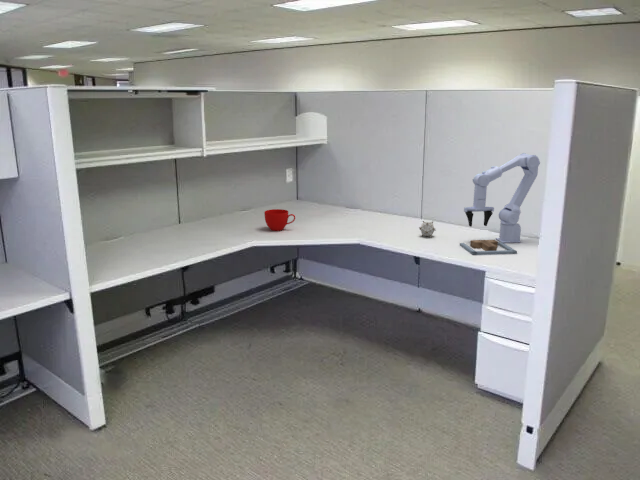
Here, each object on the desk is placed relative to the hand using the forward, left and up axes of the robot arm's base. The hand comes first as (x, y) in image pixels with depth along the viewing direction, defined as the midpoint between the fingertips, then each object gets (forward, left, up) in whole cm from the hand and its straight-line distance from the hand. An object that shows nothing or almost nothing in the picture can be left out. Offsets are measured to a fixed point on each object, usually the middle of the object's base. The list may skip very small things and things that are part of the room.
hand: (477, 225), depth 268 cm
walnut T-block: (0, +13, -8) cm, 15 cm away
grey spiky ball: (+21, -14, -9) cm, 27 cm away
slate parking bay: (0, +14, -8) cm, 16 cm away
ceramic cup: (+96, -37, -9) cm, 103 cm away
